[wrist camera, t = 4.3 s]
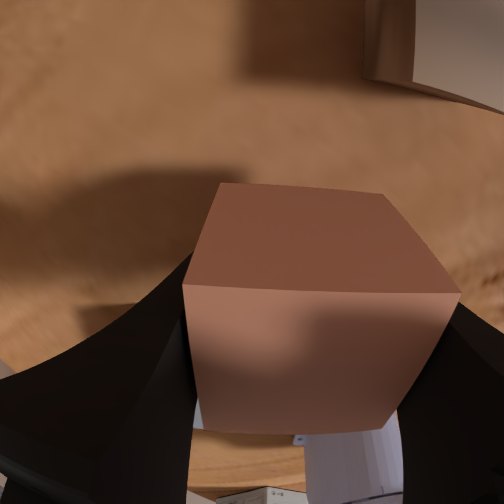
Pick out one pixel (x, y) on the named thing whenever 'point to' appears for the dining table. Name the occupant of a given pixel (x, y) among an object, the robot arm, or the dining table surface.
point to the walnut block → (438, 48)
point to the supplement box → (265, 497)
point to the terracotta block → (309, 310)
